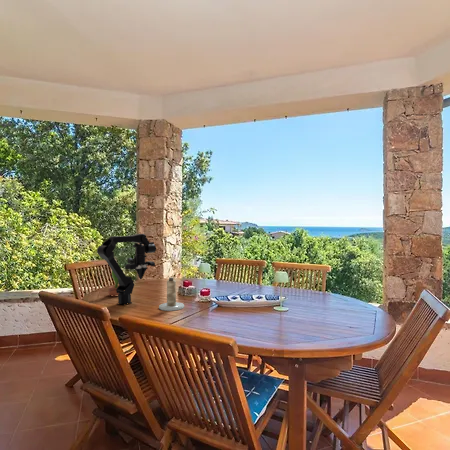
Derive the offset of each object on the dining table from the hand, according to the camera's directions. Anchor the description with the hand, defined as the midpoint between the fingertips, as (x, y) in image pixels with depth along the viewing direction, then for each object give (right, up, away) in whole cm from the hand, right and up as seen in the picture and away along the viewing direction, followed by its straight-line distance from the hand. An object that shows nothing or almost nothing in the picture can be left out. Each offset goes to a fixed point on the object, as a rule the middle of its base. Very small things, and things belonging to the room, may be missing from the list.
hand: (140, 279), depth 208 cm
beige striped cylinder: (+22, -12, -19) cm, 31 cm away
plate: (+22, -13, -19) cm, 32 cm away
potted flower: (-21, -13, +14) cm, 28 cm away
